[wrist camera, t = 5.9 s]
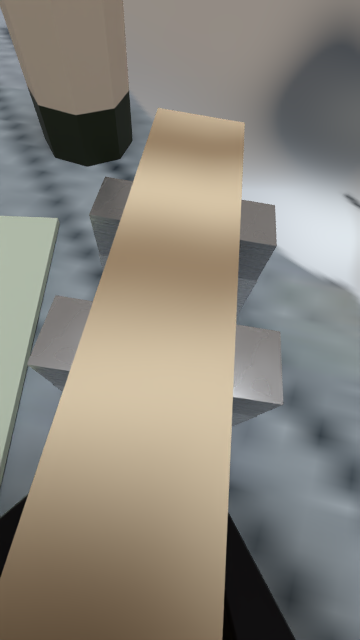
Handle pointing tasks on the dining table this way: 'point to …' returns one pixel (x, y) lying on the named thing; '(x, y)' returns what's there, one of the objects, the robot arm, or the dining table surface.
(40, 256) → the mat
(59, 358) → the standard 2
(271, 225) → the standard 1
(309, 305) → the dining table surface
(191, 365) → the beech rail
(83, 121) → the wine bottle
